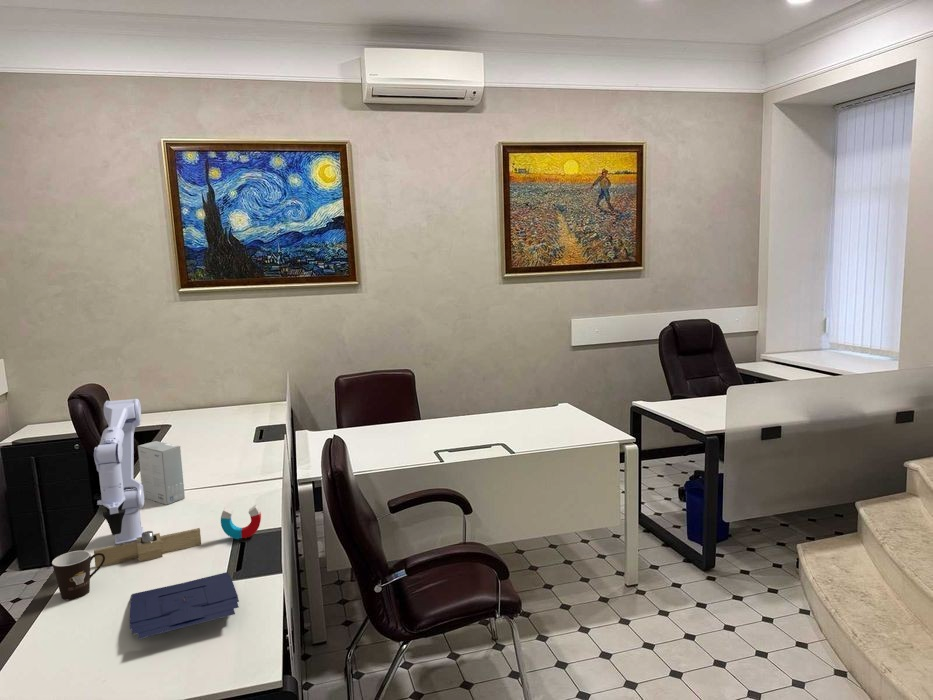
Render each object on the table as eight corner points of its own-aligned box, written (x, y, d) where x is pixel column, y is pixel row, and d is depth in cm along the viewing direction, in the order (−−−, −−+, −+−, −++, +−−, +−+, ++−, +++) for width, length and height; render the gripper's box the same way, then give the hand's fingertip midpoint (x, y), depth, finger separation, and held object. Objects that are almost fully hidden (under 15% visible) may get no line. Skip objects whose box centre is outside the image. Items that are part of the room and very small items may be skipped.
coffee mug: (54, 605, 162) (50, 569, 161) (58, 590, 170) (53, 555, 168) (106, 594, 168) (102, 558, 166) (107, 579, 175) (104, 545, 174)
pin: (154, 552, 191) (152, 530, 190) (155, 556, 188) (153, 533, 187) (143, 554, 189) (141, 532, 188) (144, 558, 187) (142, 536, 186)
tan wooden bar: (95, 562, 185) (94, 546, 184) (199, 540, 198) (198, 524, 198) (95, 571, 180) (93, 555, 179) (202, 547, 193) (201, 532, 192)
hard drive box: (185, 498, 233) (181, 446, 230) (166, 505, 226) (161, 451, 223) (161, 490, 241) (156, 440, 238) (141, 497, 235) (136, 445, 232)
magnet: (222, 541, 197) (219, 510, 196) (223, 537, 200) (221, 507, 198) (261, 537, 200) (259, 507, 198) (262, 533, 202) (260, 503, 201)
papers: (129, 653, 140) (127, 637, 140) (131, 604, 167) (130, 590, 167) (244, 623, 151) (243, 608, 151) (229, 581, 178) (228, 568, 178)
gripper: (96, 479, 188) (100, 522, 190) (95, 495, 175) (100, 541, 177) (123, 475, 191) (127, 517, 193) (124, 490, 179) (128, 535, 181)
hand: (116, 528), depth 185 cm, fingers open, 7 cm apart
